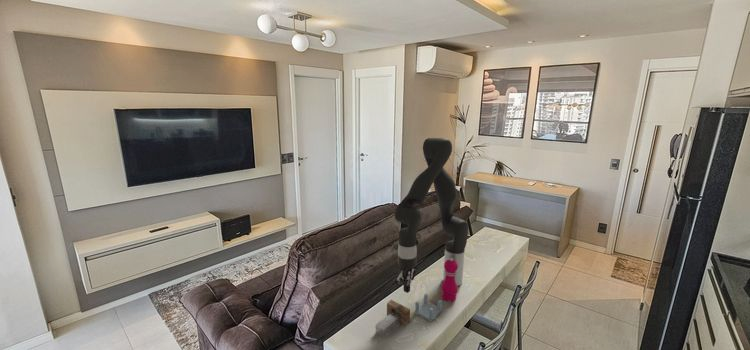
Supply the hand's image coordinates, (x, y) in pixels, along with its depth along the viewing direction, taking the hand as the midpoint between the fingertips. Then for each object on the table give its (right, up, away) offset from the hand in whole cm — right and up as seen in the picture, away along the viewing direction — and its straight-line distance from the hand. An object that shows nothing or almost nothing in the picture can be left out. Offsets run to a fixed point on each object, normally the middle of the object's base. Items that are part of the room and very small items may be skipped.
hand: (406, 291), depth 131 cm
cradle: (+9, -10, +3) cm, 14 cm away
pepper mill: (+21, -8, +13) cm, 26 cm away
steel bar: (-6, -12, -5) cm, 14 cm away
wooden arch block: (-4, -11, -1) cm, 12 cm away
